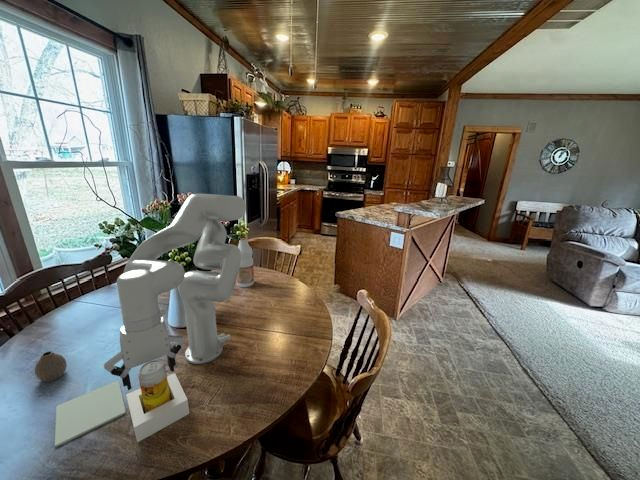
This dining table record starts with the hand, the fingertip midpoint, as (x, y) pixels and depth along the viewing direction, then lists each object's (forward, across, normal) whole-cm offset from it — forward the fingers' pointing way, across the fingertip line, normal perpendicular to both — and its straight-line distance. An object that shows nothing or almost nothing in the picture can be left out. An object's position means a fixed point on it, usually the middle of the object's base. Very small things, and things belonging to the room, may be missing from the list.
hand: (151, 377), depth 70 cm
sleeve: (+12, -1, -1) cm, 12 cm away
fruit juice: (+10, -56, -58) cm, 81 cm away
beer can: (+13, -1, -1) cm, 13 cm away
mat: (+12, +13, -13) cm, 22 cm away
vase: (+12, +21, -35) cm, 43 cm away
